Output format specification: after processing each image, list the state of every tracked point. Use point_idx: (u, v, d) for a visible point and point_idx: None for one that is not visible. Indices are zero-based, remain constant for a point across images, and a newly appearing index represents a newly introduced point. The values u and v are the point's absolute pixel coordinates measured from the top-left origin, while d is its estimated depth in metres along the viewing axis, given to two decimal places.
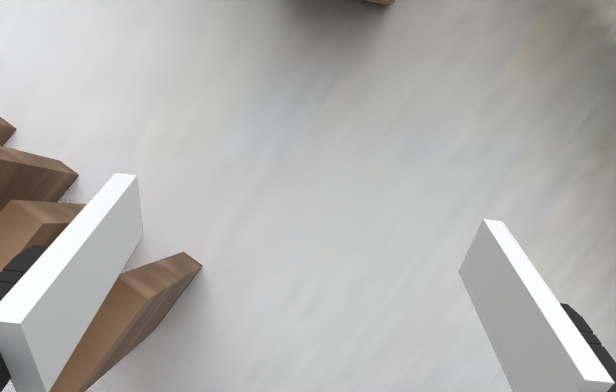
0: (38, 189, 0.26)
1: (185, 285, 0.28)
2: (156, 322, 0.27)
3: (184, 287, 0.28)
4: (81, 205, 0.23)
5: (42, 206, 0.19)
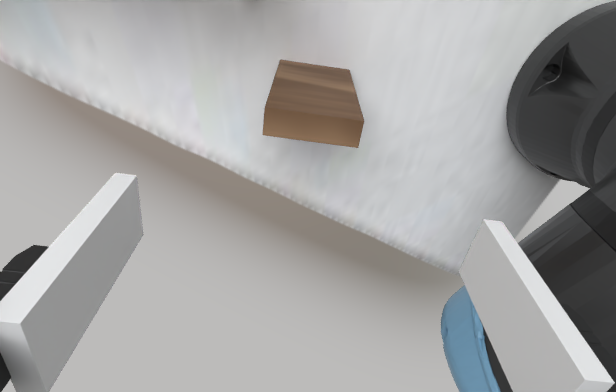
0: None
1: None
2: None
3: None
4: None
5: None
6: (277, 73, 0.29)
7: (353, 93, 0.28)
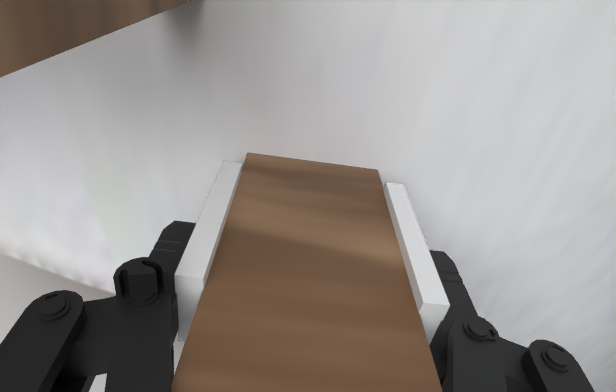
0: None
1: None
2: None
3: None
4: None
5: None
6: (233, 207, 0.14)
7: (401, 271, 0.12)
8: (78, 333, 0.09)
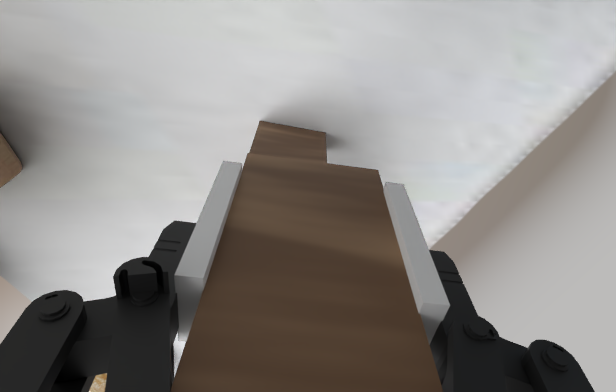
0: None
1: (275, 130, 0.34)
2: (309, 139, 0.33)
3: (278, 129, 0.34)
4: None
5: None
6: (233, 207, 0.14)
7: (401, 271, 0.12)
8: (78, 333, 0.09)
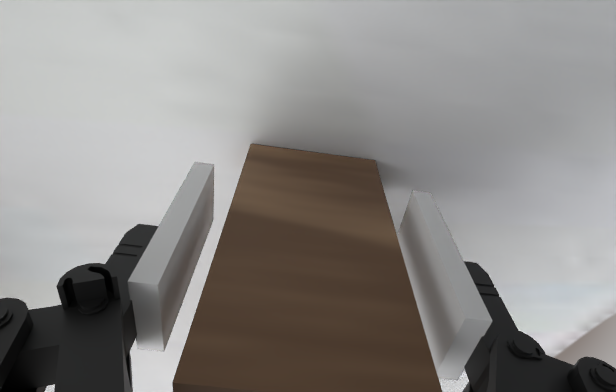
0: None
1: None
2: None
3: None
4: None
5: None
6: (237, 192, 0.15)
7: (395, 251, 0.13)
8: (23, 341, 0.09)
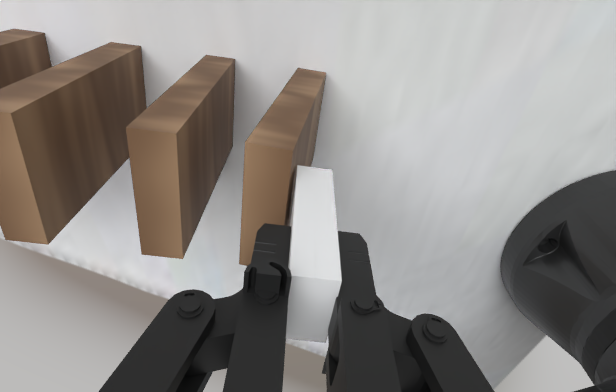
0: (17, 72, 0.22)
1: (230, 89, 0.24)
2: (227, 139, 0.25)
3: (230, 92, 0.24)
4: (57, 66, 0.19)
5: (4, 93, 0.15)
6: (317, 94, 0.21)
7: None
8: (207, 335, 0.09)
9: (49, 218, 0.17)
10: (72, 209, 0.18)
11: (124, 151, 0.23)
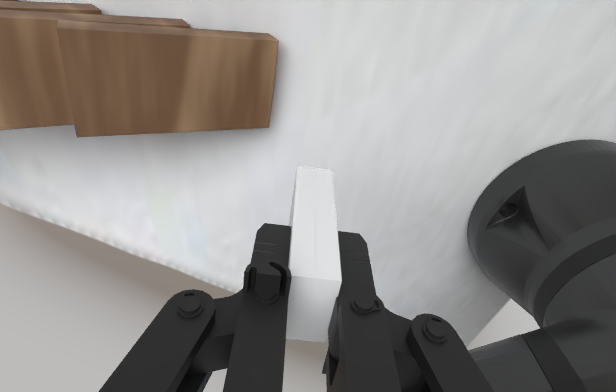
0: None
1: None
2: None
3: None
4: None
5: None
6: (209, 38, 0.23)
7: (171, 129, 0.25)
8: (207, 335, 0.09)
9: None
10: None
11: None
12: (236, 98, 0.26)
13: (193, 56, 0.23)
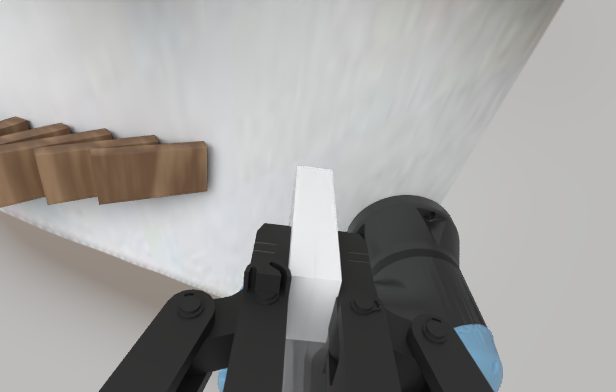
0: None
1: None
2: None
3: None
4: (46, 138, 0.42)
5: (0, 147, 0.39)
6: (168, 151, 0.43)
7: (149, 196, 0.45)
8: (207, 335, 0.09)
9: (1, 198, 0.40)
10: (22, 198, 0.42)
11: None
12: (185, 178, 0.46)
13: (159, 160, 0.44)
